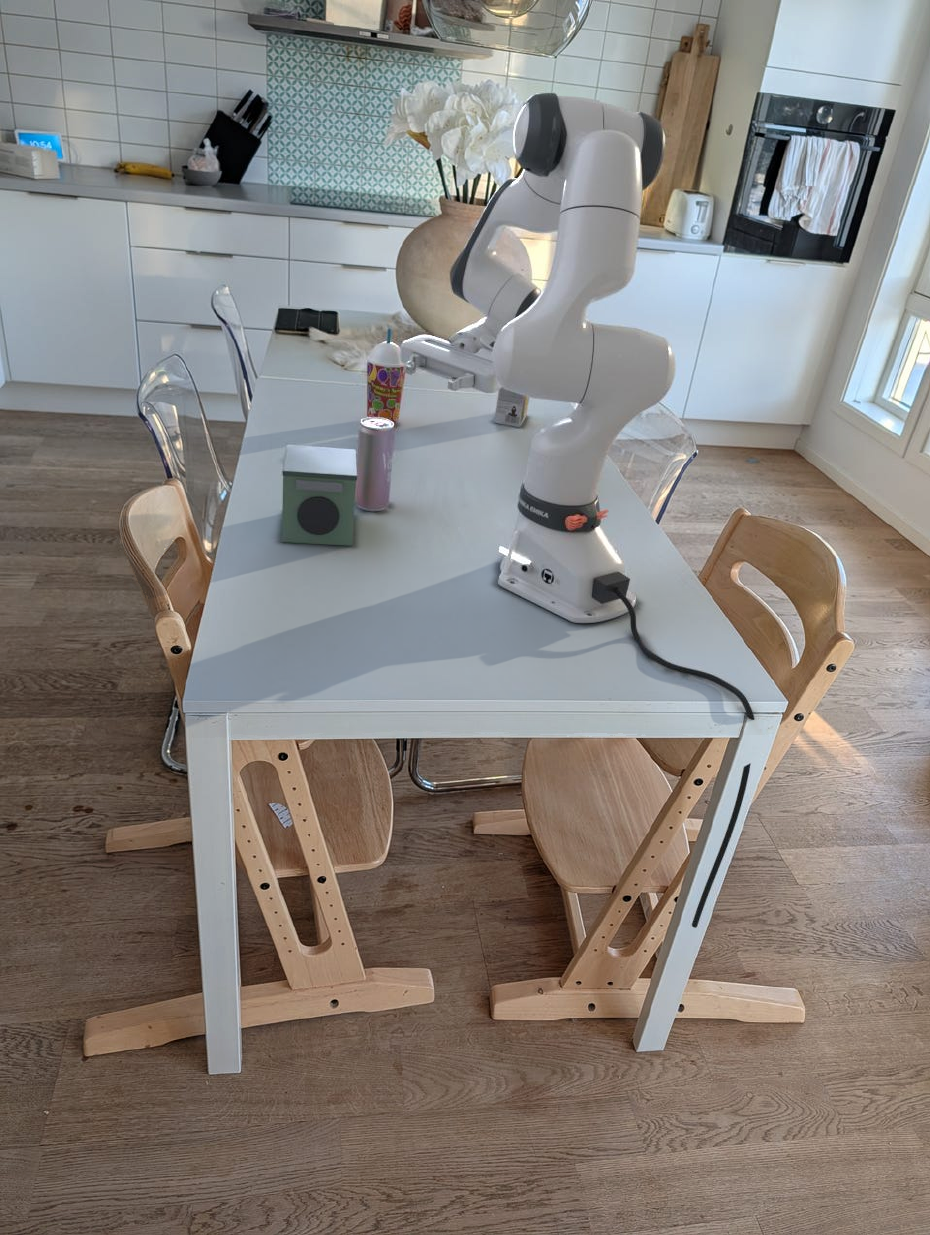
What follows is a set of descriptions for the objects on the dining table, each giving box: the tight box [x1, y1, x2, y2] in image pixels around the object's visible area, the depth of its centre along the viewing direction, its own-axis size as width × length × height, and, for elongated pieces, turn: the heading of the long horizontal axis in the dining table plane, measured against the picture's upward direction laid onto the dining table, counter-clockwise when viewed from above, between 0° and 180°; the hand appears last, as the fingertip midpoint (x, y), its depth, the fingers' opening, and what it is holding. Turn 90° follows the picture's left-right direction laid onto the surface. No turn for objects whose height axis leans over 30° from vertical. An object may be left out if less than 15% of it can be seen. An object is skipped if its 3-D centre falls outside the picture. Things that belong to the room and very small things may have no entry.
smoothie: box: [366, 328, 406, 426], centre depth 192 cm, size 8×8×20 cm
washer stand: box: [281, 444, 357, 547], centre depth 146 cm, size 12×11×12 cm
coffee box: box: [493, 387, 530, 428], centre depth 205 cm, size 9×6×16 cm
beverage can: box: [355, 417, 396, 512], centre depth 156 cm, size 6×6×15 cm
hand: (428, 377), depth 160 cm, fingers open, 8 cm apart
